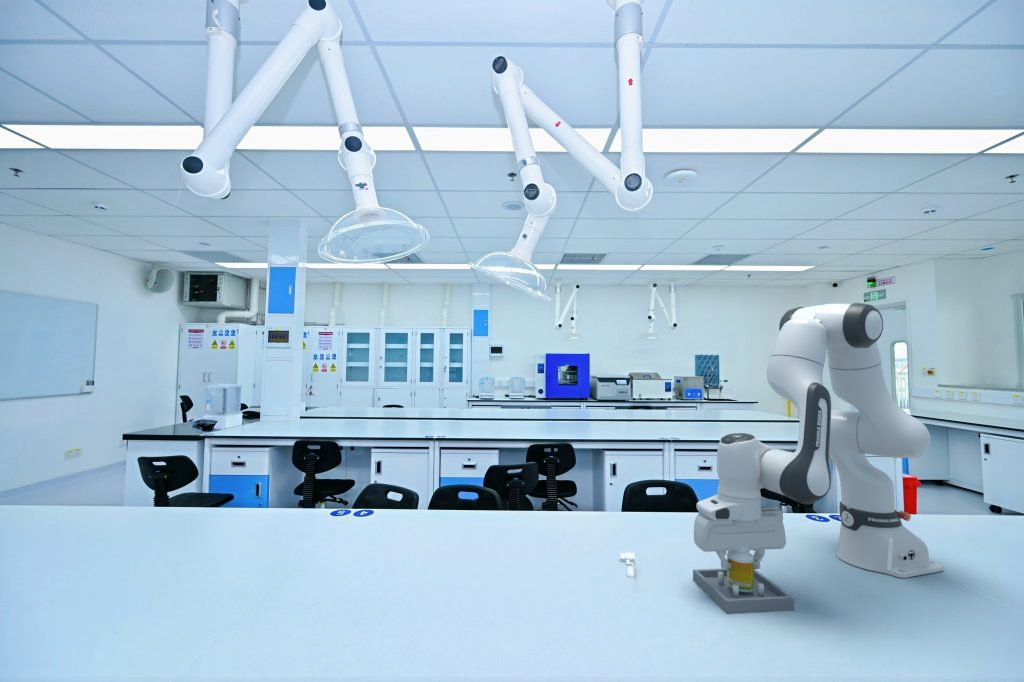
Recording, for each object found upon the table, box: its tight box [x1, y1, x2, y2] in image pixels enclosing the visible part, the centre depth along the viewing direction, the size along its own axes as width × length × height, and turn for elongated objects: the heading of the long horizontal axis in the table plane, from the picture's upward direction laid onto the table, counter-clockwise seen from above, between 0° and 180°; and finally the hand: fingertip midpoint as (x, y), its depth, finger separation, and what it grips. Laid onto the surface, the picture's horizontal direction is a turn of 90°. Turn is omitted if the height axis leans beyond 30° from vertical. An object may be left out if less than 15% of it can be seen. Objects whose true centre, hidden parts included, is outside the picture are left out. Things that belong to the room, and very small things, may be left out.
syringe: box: [618, 551, 638, 581], centre depth 110 cm, size 20×5×2 cm, turn 171°
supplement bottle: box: [726, 546, 754, 592], centre depth 100 cm, size 5×5×10 cm
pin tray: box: [692, 568, 795, 614], centre depth 99 cm, size 15×14×4 cm
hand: (740, 568), depth 100 cm, fingers closed on supplement bottle, 5 cm apart
